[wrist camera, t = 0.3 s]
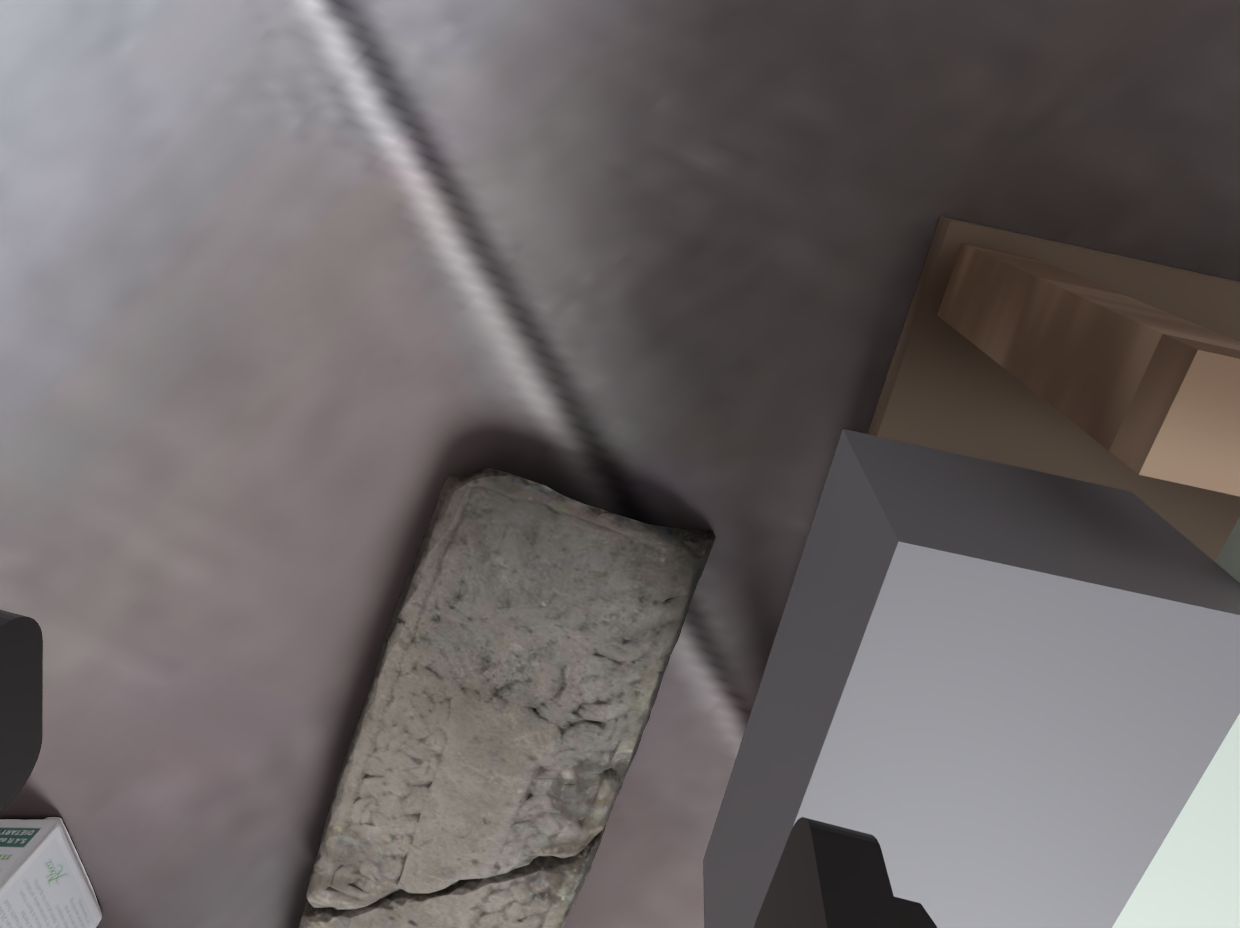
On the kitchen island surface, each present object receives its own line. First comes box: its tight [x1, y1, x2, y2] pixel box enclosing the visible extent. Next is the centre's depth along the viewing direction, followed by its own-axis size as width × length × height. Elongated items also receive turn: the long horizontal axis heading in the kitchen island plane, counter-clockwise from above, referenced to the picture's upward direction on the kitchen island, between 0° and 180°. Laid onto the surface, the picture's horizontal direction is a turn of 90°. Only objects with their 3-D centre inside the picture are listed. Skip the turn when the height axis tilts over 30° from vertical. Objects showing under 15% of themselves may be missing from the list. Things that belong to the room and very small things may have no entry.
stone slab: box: [298, 468, 715, 928], centre depth 33 cm, size 10×3×30 cm
